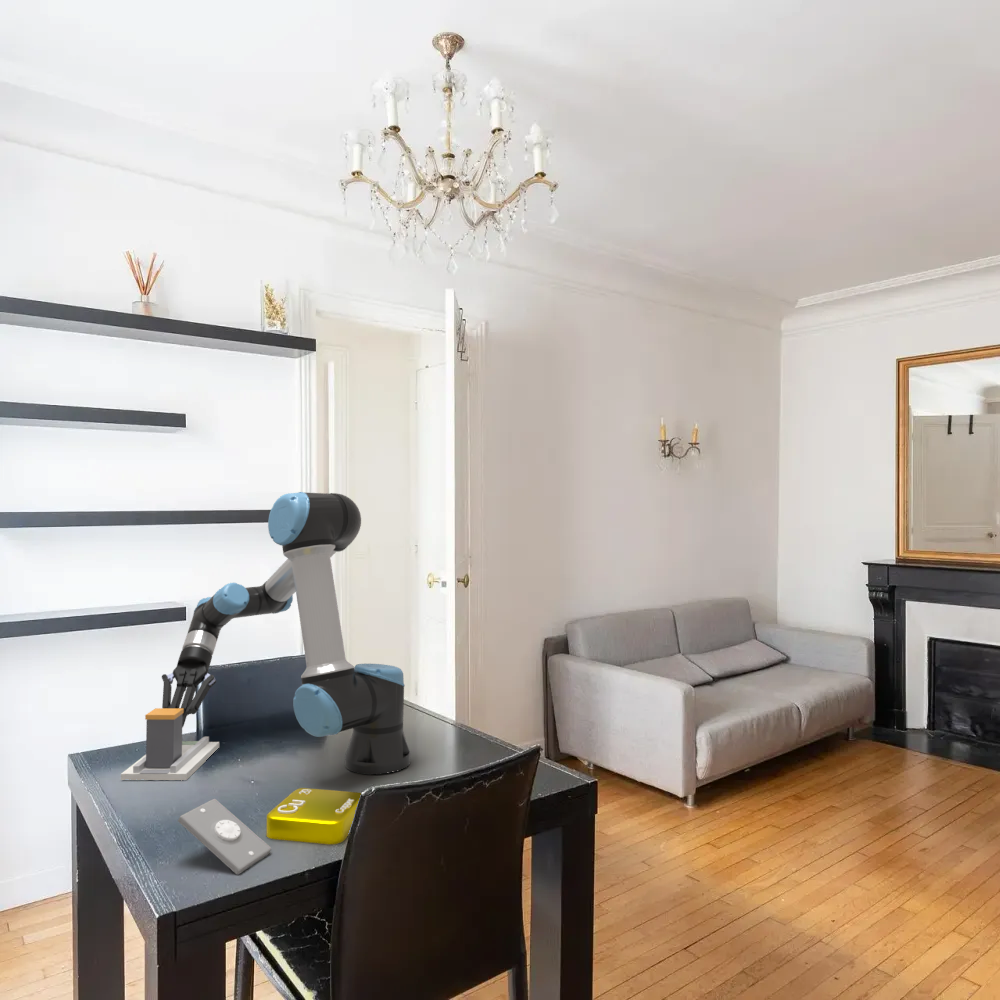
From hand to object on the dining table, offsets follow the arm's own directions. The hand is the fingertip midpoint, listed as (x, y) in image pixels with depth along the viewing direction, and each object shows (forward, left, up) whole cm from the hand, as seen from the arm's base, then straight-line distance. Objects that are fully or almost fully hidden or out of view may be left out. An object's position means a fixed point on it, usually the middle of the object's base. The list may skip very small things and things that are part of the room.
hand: (169, 739), depth 176 cm
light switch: (-53, -1, -6) cm, 53 cm away
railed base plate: (+1, -1, -6) cm, 6 cm away
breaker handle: (-3, +2, -4) cm, 6 cm away
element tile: (-48, -19, -7) cm, 52 cm away
